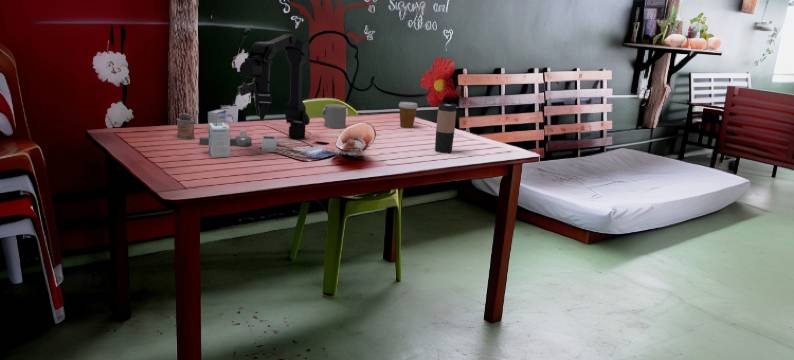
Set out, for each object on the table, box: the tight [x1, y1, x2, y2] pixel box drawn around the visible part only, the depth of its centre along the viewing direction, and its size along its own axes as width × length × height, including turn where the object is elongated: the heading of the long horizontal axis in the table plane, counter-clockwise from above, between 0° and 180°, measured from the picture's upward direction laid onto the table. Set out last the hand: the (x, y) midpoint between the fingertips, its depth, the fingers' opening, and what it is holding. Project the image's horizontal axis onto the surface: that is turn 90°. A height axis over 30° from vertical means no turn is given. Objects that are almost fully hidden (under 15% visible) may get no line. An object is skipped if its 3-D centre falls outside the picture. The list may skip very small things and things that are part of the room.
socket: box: [261, 135, 278, 153], centre depth 234 cm, size 6×6×5 cm
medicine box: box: [207, 109, 227, 131], centre depth 260 cm, size 8×4×9 cm, turn 168°
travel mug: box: [434, 102, 458, 154], centre depth 251 cm, size 8×8×20 cm
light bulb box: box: [208, 122, 231, 158], centre depth 222 cm, size 11×7×11 cm, turn 23°
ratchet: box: [198, 129, 253, 148], centre depth 237 cm, size 20×6×6 cm, turn 102°
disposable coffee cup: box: [398, 101, 419, 129], centre depth 298 cm, size 10×10×12 cm
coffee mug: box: [321, 103, 347, 130], centre depth 288 cm, size 13×10×10 cm
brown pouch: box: [176, 112, 196, 140], centre depth 243 cm, size 8×3×10 cm, turn 68°
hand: (260, 118), depth 230 cm, fingers open, 9 cm apart
